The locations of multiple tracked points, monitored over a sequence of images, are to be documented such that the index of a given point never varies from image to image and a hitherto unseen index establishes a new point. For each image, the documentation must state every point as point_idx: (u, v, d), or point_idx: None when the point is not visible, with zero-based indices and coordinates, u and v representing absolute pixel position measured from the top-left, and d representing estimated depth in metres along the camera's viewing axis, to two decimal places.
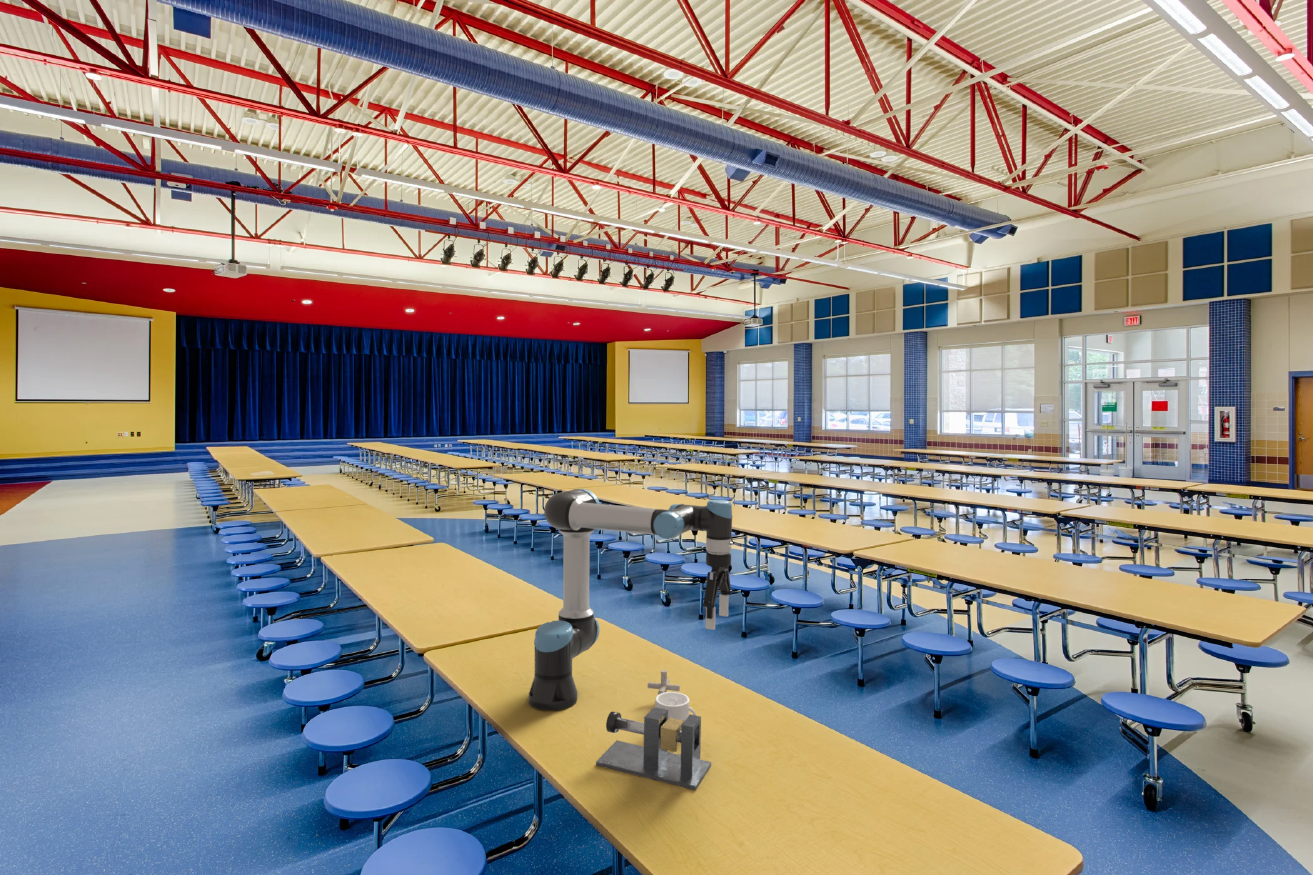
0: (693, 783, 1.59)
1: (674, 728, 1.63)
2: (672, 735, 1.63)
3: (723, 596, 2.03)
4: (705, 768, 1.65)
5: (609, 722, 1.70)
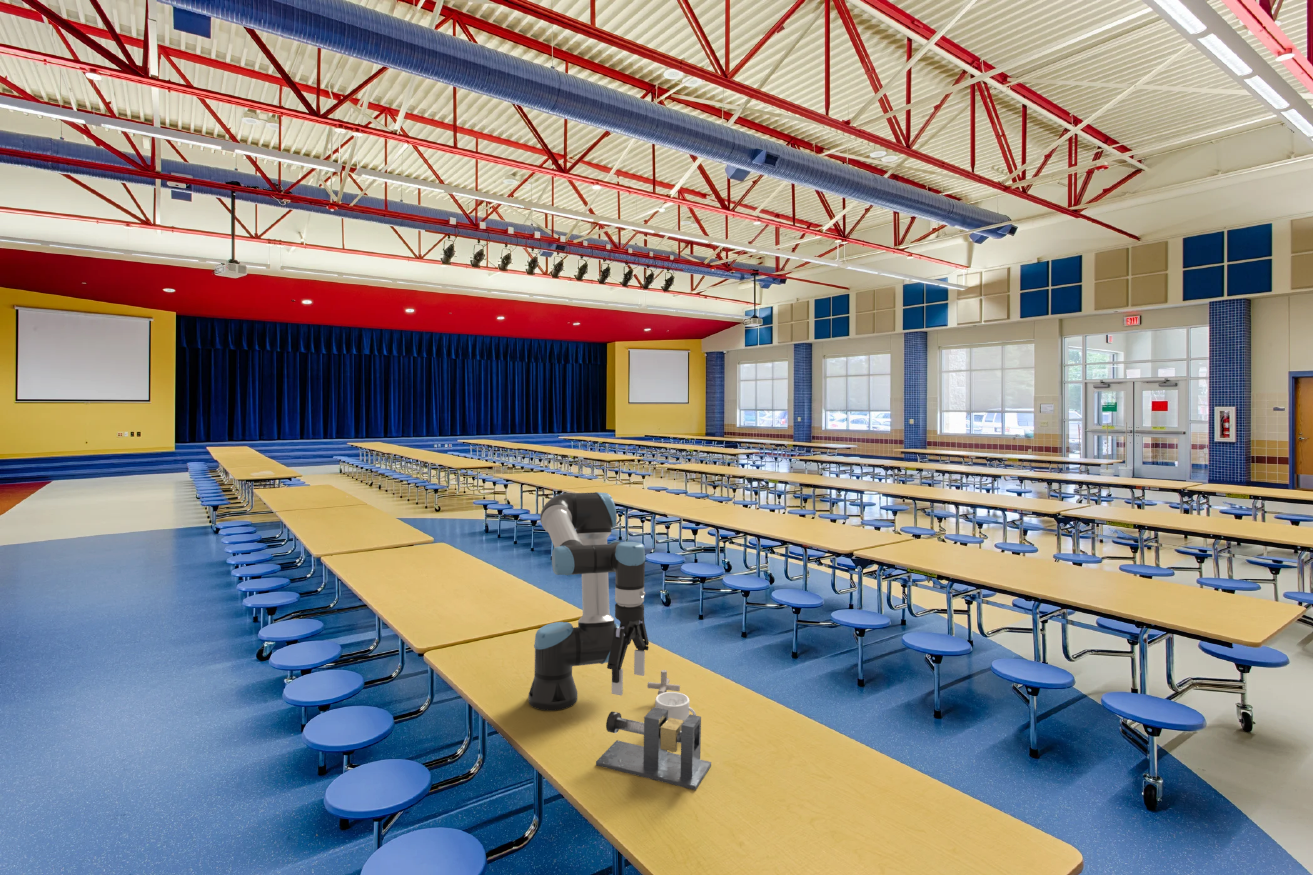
0: (693, 783, 1.59)
1: (674, 728, 1.63)
2: (672, 735, 1.63)
3: (638, 652, 1.76)
4: (705, 768, 1.65)
5: (609, 722, 1.70)
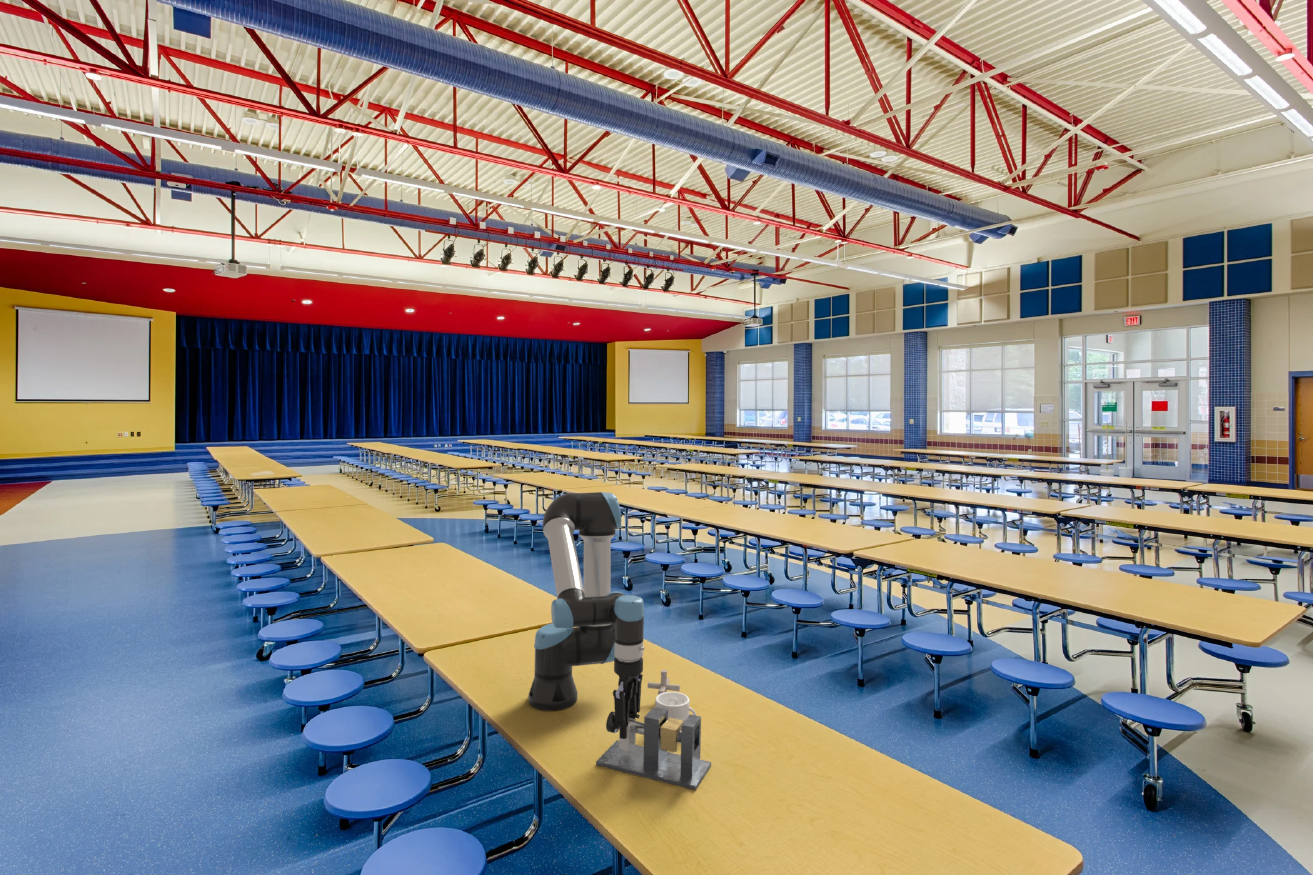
0: (693, 783, 1.59)
1: (674, 728, 1.63)
2: (672, 735, 1.63)
3: None
4: (705, 768, 1.65)
5: (609, 722, 1.70)
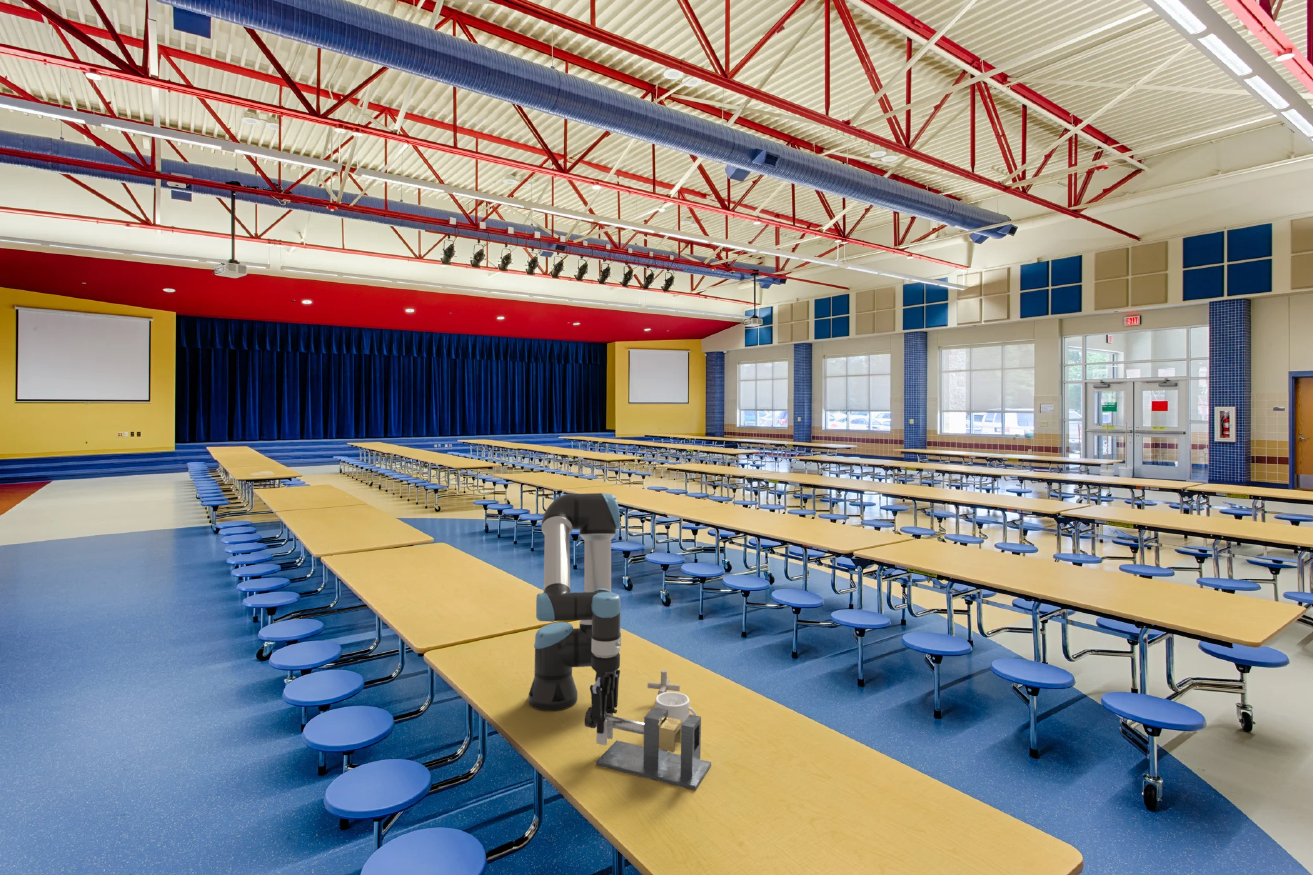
0: (693, 783, 1.59)
1: (672, 728, 1.63)
2: (670, 735, 1.63)
3: None
4: (705, 768, 1.65)
5: (587, 717, 1.73)
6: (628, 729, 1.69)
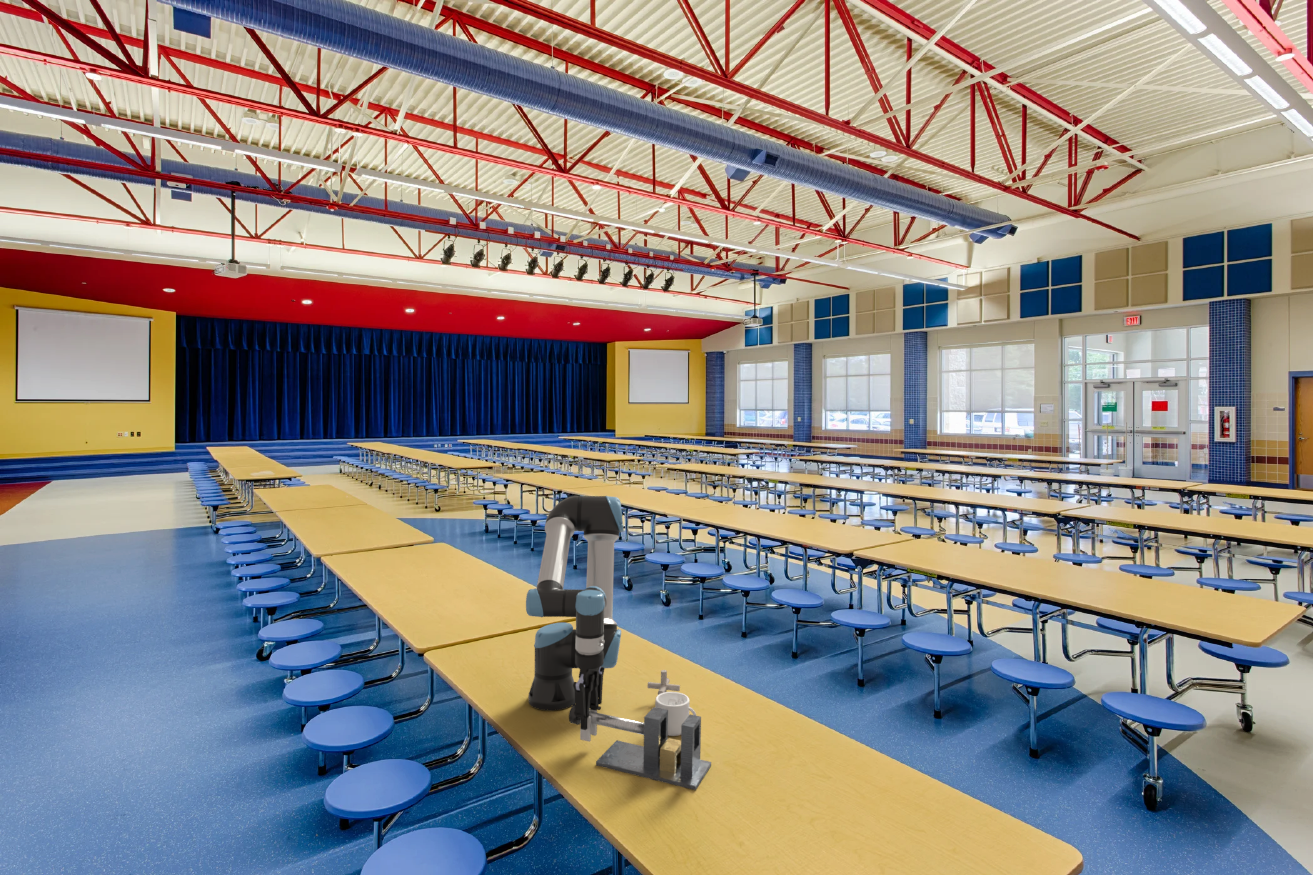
0: (693, 783, 1.59)
1: (673, 750, 1.63)
2: (671, 756, 1.63)
3: None
4: (705, 768, 1.65)
5: (572, 714, 1.74)
6: (611, 725, 1.71)
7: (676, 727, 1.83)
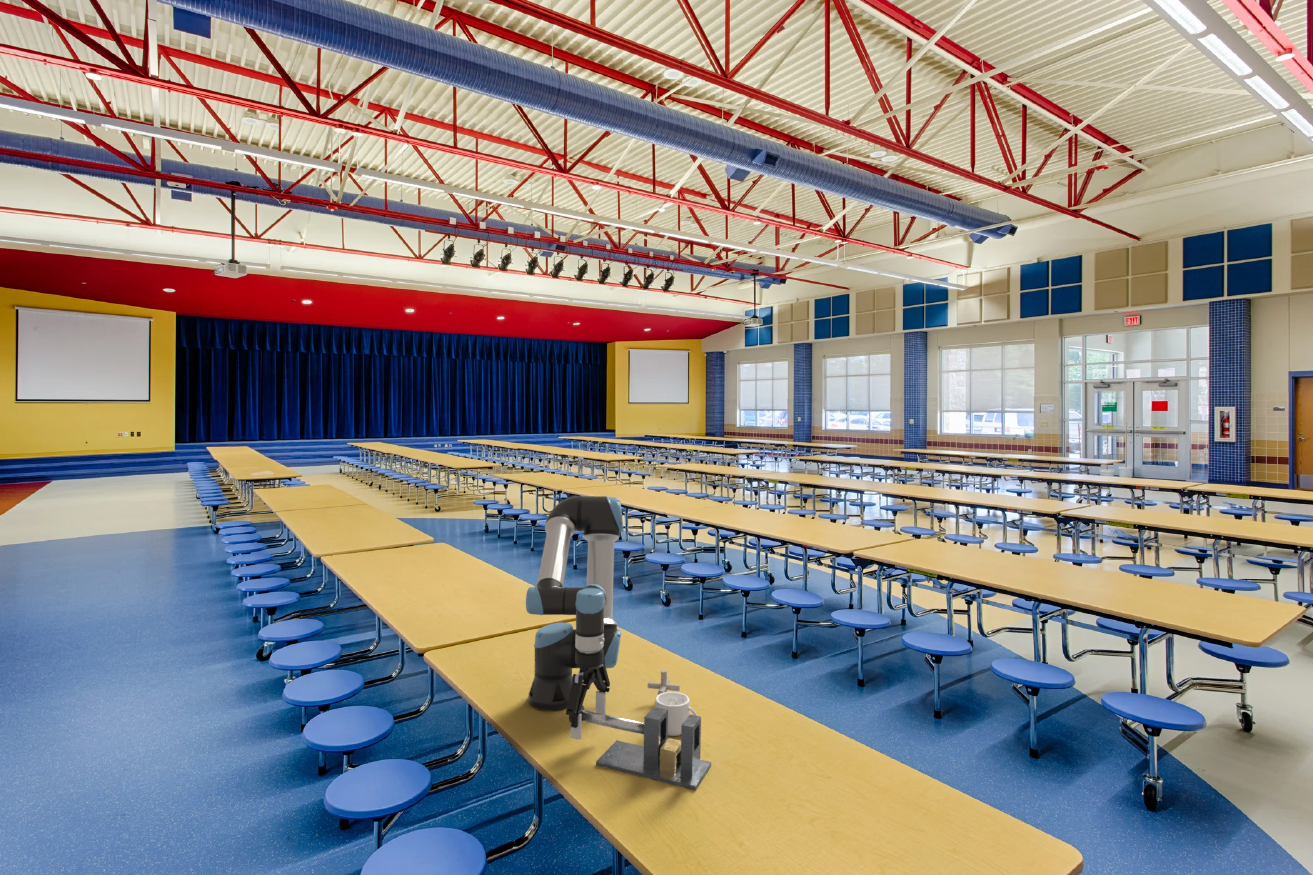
0: (693, 783, 1.59)
1: (673, 750, 1.63)
2: (671, 756, 1.63)
3: (599, 694, 1.81)
4: (705, 768, 1.65)
5: None
6: (611, 725, 1.71)
7: (676, 727, 1.83)
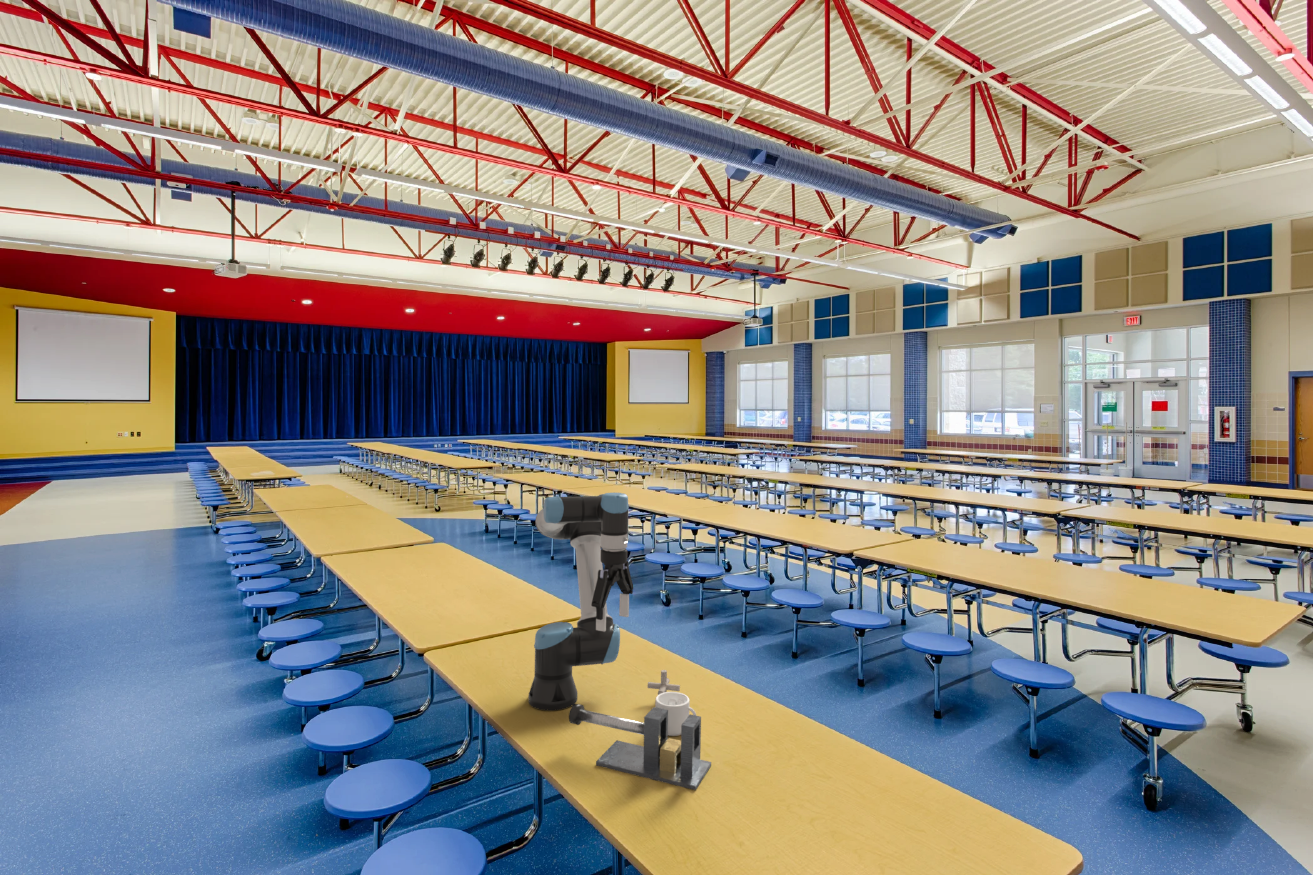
0: (693, 783, 1.59)
1: (673, 750, 1.63)
2: (671, 756, 1.63)
3: (623, 595, 1.90)
4: (705, 768, 1.65)
5: (571, 714, 1.74)
6: (611, 725, 1.71)
7: (676, 727, 1.83)
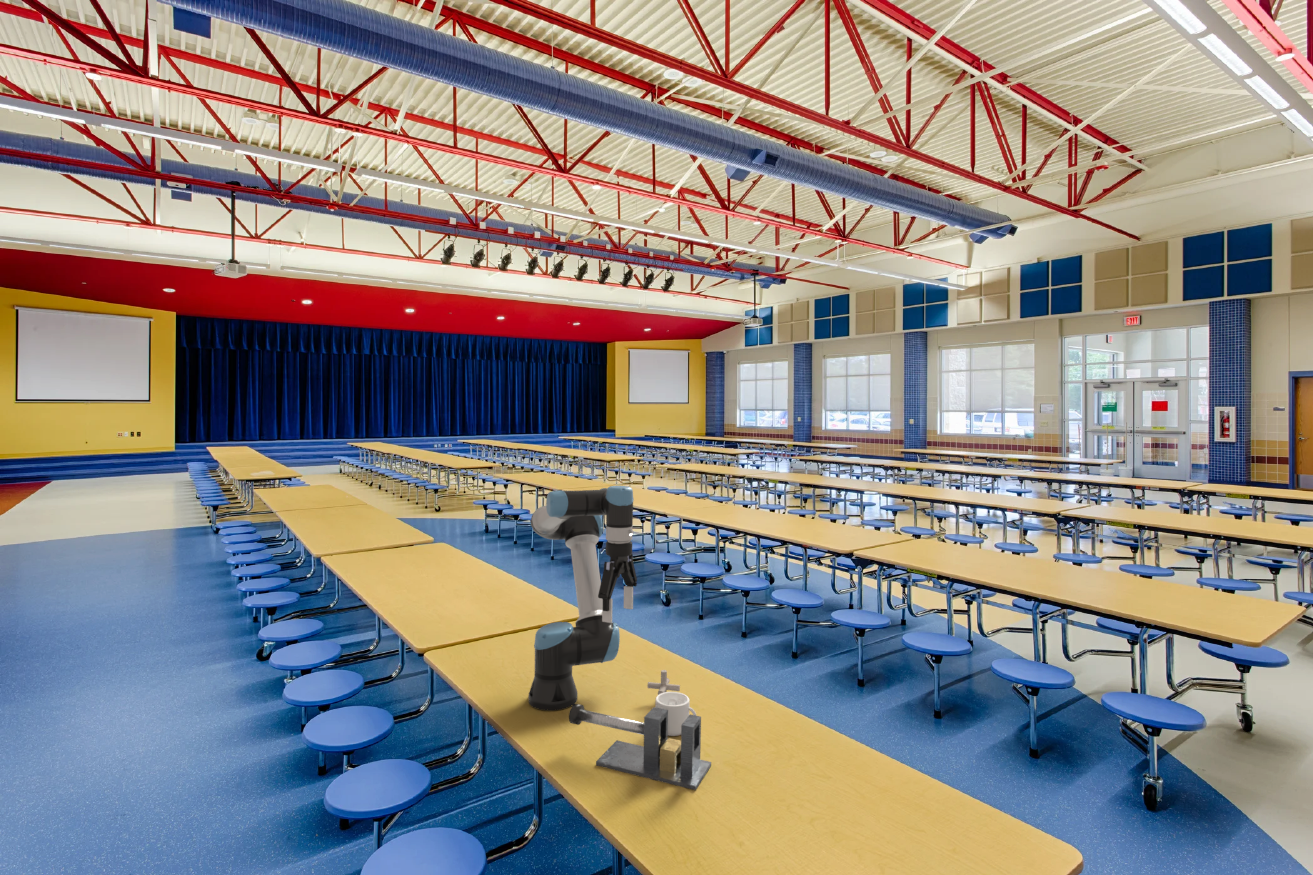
0: (693, 783, 1.59)
1: (673, 750, 1.63)
2: (671, 756, 1.63)
3: (627, 588, 1.92)
4: (705, 768, 1.65)
5: (571, 714, 1.74)
6: (611, 725, 1.71)
7: (676, 727, 1.83)
